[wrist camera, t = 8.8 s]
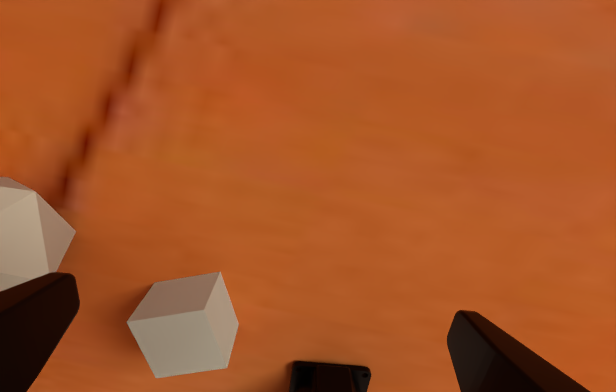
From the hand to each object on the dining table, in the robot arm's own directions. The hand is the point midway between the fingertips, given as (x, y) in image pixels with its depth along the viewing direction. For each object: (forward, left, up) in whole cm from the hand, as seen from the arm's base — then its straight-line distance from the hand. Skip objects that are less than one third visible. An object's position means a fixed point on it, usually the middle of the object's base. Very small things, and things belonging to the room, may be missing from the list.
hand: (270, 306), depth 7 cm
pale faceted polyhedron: (-6, +17, -13) cm, 22 cm away
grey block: (-12, +6, -13) cm, 19 cm away
